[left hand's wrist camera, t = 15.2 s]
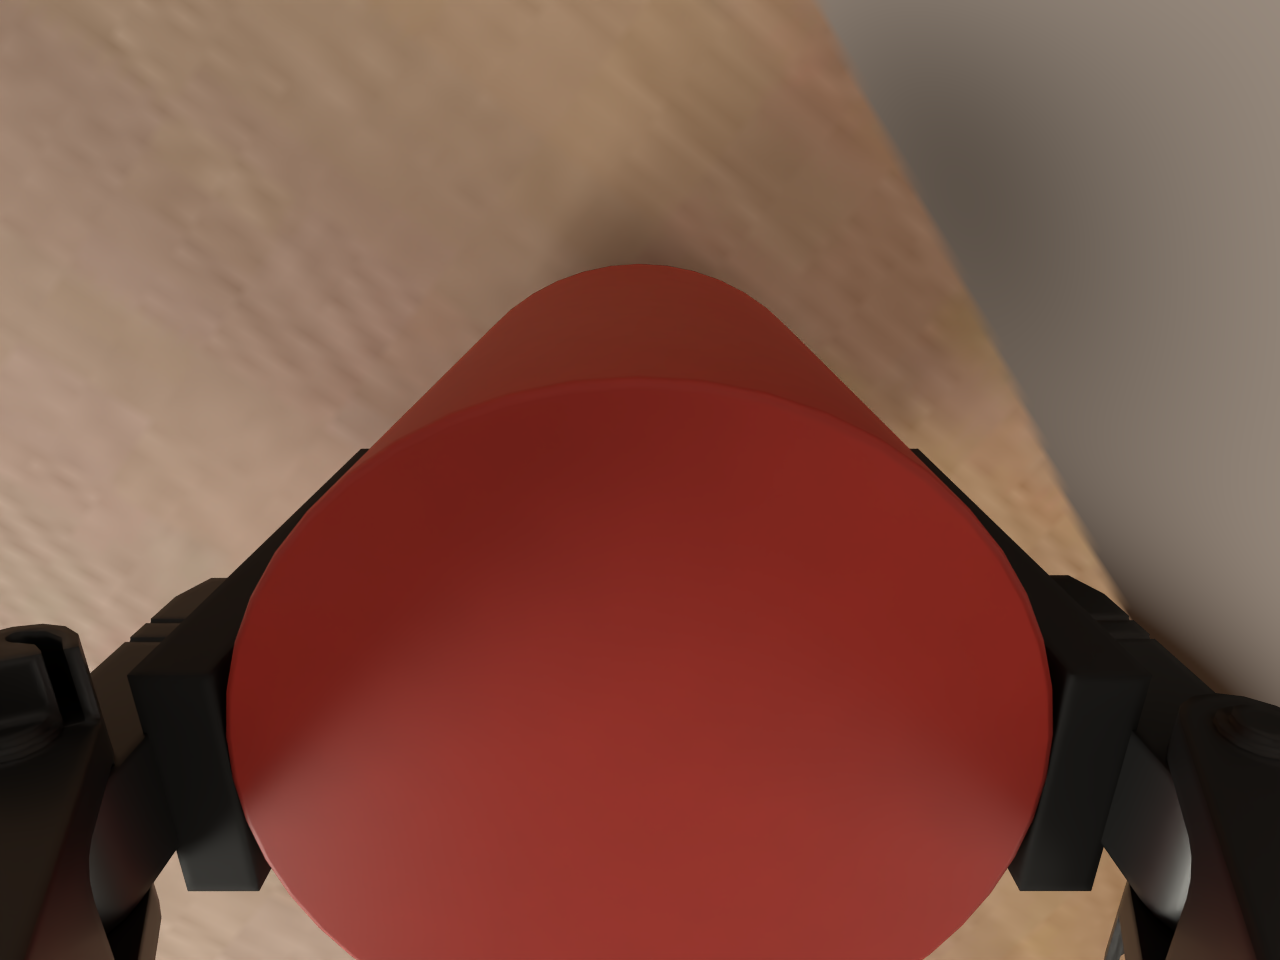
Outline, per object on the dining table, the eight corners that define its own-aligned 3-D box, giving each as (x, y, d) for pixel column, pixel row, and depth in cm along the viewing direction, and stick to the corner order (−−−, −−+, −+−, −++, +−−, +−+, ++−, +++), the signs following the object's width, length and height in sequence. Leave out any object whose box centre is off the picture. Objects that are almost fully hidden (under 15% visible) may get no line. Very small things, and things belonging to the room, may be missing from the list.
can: (453, 237, 14) (187, 316, 6) (874, 292, 15) (1189, 443, 6) (438, 609, 17) (245, 1023, 9) (791, 648, 18) (932, 1081, 9)
